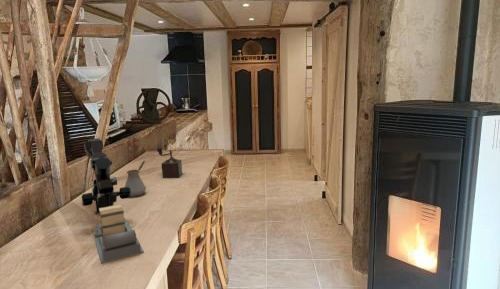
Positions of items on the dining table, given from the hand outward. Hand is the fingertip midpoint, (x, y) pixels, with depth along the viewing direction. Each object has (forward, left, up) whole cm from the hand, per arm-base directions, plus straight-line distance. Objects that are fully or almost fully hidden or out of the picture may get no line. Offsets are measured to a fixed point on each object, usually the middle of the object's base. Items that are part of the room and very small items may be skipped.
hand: (110, 214), depth 144 cm
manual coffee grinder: (+18, +77, -7) cm, 80 cm away
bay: (+4, -12, -7) cm, 14 cm away
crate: (+2, -5, -6) cm, 8 cm away
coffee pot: (+4, +49, -7) cm, 50 cm away
